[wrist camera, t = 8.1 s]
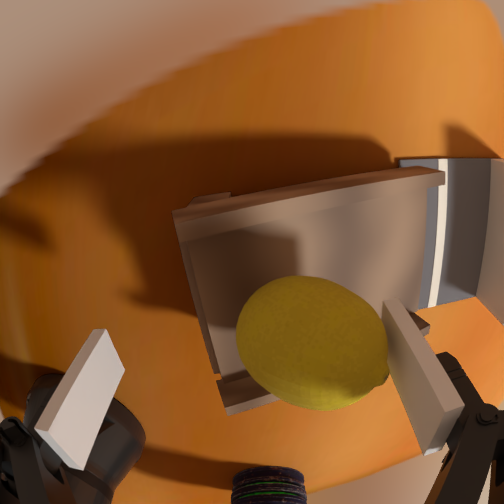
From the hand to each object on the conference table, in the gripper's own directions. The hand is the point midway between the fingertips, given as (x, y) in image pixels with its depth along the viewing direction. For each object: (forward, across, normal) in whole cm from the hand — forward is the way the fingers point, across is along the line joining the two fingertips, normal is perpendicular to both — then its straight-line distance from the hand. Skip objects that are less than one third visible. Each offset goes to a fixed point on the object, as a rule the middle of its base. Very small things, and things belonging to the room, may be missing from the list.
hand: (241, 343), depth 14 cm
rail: (+9, +20, 0) cm, 22 cm away
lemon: (+3, 0, 0) cm, 3 cm away
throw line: (+9, +14, 0) cm, 17 cm away
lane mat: (+9, +16, 0) cm, 18 cm away
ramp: (+9, +5, 0) cm, 10 cm away
